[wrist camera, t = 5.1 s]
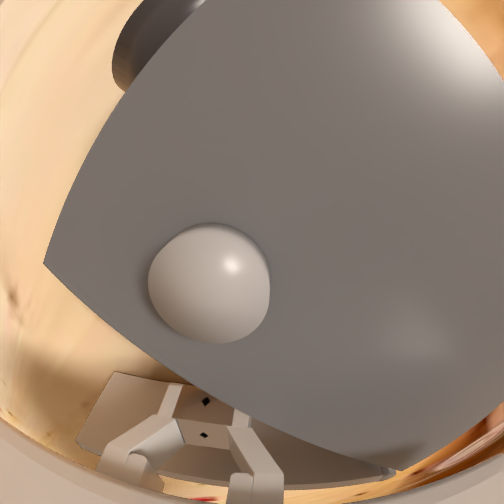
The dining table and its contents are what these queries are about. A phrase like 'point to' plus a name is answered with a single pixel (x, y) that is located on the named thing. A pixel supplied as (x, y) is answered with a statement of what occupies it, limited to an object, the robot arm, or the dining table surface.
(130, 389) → the side door
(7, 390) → the dining table surface
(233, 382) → the camera housing
